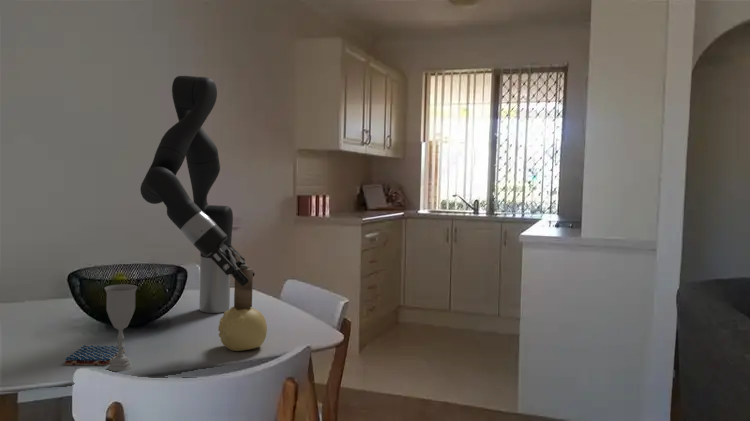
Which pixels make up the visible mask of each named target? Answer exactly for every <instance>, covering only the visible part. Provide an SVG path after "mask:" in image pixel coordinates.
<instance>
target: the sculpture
mask: <svg viewBox="0 0 750 421" xmlns="http://www.w3.org/2000/svg"><path fill="white" fill-rule="evenodd" d="M217 329H218V332H219V333H218V337H219V338H220V341H221V343H222V345H223V346H224V347H226V349H228V350H230V351H235V352H239V351H240V352H241V351H246V350H247V351H248V350H252V349H253V350H254V349H257V348H260V347H261V346H262V345H263V344H264V342H265V339H266V338H267V334H268V333H267V332H268V324H267V321H266V318H265V317H264V315H263V314H262V312H261V311H259V310H258V309H256V308H254V307H251V308H235V307H234V306H232V307H229V310H228V311H225V312H223V316H222V317H220V320H219V324H218V327H217Z"/></svg>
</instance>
